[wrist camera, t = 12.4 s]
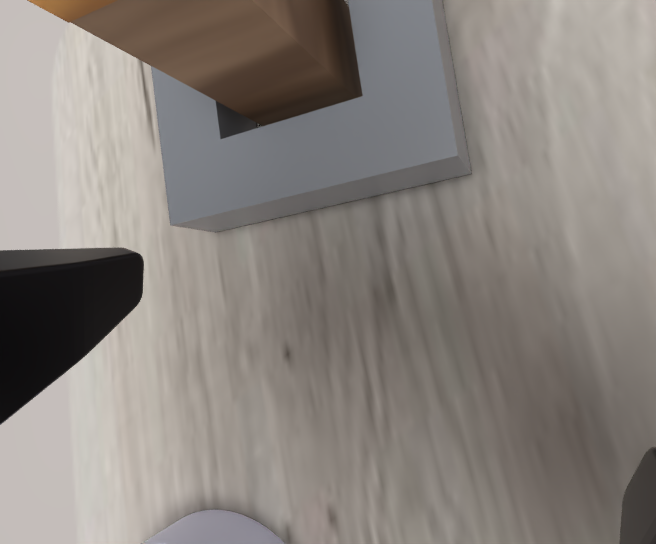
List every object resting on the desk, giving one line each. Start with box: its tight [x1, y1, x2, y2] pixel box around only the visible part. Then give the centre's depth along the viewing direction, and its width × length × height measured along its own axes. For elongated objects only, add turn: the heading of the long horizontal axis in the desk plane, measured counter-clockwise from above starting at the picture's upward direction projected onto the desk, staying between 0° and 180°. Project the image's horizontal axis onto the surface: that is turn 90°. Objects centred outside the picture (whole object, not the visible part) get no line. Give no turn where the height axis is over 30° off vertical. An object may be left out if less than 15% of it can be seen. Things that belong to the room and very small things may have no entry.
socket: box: [151, 0, 472, 232], centre depth 21 cm, size 11×11×3 cm
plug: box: [28, 0, 363, 126], centre depth 17 cm, size 4×4×12 cm
